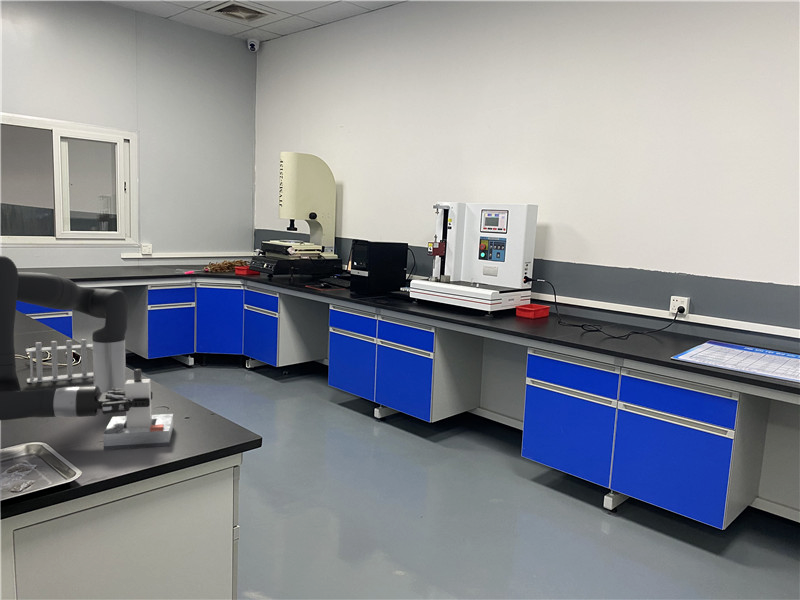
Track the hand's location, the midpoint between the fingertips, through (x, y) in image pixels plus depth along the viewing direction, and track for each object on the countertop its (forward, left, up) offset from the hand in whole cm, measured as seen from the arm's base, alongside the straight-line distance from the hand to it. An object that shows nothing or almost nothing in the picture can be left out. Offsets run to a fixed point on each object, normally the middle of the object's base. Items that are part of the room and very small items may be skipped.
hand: (150, 398), depth 153 cm
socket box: (0, -3, -10) cm, 11 cm away
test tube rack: (-61, -32, -11) cm, 70 cm away
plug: (0, -3, -9) cm, 10 cm away
